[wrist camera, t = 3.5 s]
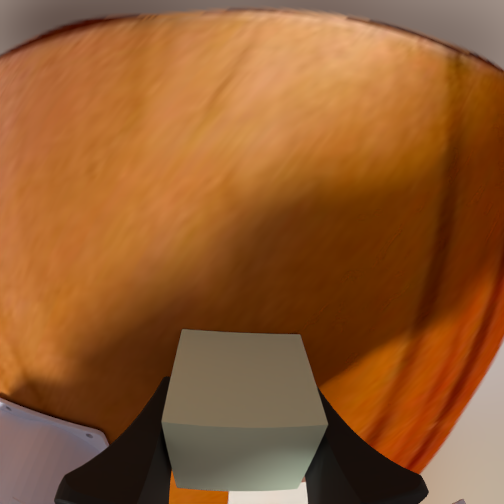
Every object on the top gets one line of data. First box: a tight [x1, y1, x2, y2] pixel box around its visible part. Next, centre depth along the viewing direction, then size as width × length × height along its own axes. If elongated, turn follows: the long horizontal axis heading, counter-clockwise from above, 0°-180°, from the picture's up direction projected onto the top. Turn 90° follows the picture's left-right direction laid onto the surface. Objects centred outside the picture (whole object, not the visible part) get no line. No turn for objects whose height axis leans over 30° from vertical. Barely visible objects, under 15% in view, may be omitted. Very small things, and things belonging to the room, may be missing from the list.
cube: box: [161, 329, 328, 491], centre depth 11 cm, size 5×5×5 cm
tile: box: [228, 475, 308, 504], centre depth 19 cm, size 10×10×1 cm
